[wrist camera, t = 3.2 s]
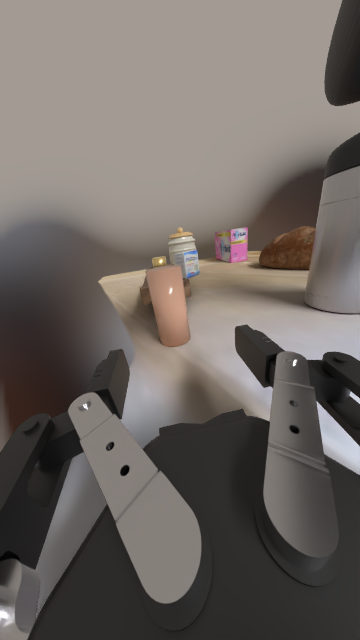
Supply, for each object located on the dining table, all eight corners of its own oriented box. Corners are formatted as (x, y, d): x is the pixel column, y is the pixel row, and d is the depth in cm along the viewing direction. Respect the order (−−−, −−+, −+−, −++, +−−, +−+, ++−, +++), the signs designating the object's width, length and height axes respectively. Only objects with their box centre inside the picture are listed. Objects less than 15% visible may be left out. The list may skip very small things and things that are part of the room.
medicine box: (186, 279, 61) (183, 253, 57) (177, 278, 64) (173, 253, 60) (199, 273, 66) (197, 249, 63) (190, 273, 69) (187, 250, 65)
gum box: (215, 258, 100) (213, 232, 95) (228, 256, 101) (227, 230, 95) (231, 263, 79) (230, 229, 73) (247, 260, 79) (248, 226, 73)
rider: (187, 328, 28) (178, 263, 23) (193, 343, 24) (183, 268, 19) (160, 333, 27) (146, 269, 23) (161, 349, 23) (144, 274, 19)
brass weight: (167, 269, 54) (164, 255, 53) (168, 271, 51) (165, 256, 49) (154, 271, 54) (151, 258, 52) (154, 273, 50) (151, 259, 49)
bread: (271, 261, 69) (273, 229, 64) (381, 260, 47) (397, 212, 43) (250, 270, 60) (251, 234, 55) (372, 273, 39) (391, 215, 34)
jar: (202, 264, 86) (199, 224, 78) (188, 270, 77) (182, 225, 69) (181, 265, 93) (177, 229, 86) (166, 270, 84) (159, 230, 77)
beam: (176, 281, 59) (173, 263, 57) (192, 310, 34) (189, 280, 31) (150, 286, 59) (146, 268, 56) (147, 319, 33) (139, 289, 31)
